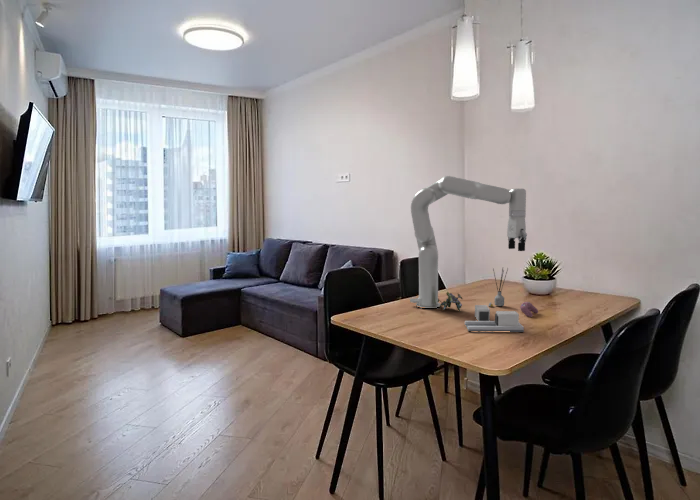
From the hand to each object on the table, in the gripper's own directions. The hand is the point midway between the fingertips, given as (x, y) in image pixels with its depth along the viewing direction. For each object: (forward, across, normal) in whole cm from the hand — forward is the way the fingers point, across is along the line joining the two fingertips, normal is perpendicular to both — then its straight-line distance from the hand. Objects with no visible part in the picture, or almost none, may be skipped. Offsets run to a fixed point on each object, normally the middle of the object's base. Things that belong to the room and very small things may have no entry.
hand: (516, 249), depth 217 cm
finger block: (+29, +17, -24) cm, 42 cm away
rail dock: (+29, +31, -25) cm, 49 cm away
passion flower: (+29, -2, -32) cm, 44 cm away
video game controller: (+29, +12, +1) cm, 32 cm away
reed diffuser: (+29, -5, -6) cm, 30 cm away
